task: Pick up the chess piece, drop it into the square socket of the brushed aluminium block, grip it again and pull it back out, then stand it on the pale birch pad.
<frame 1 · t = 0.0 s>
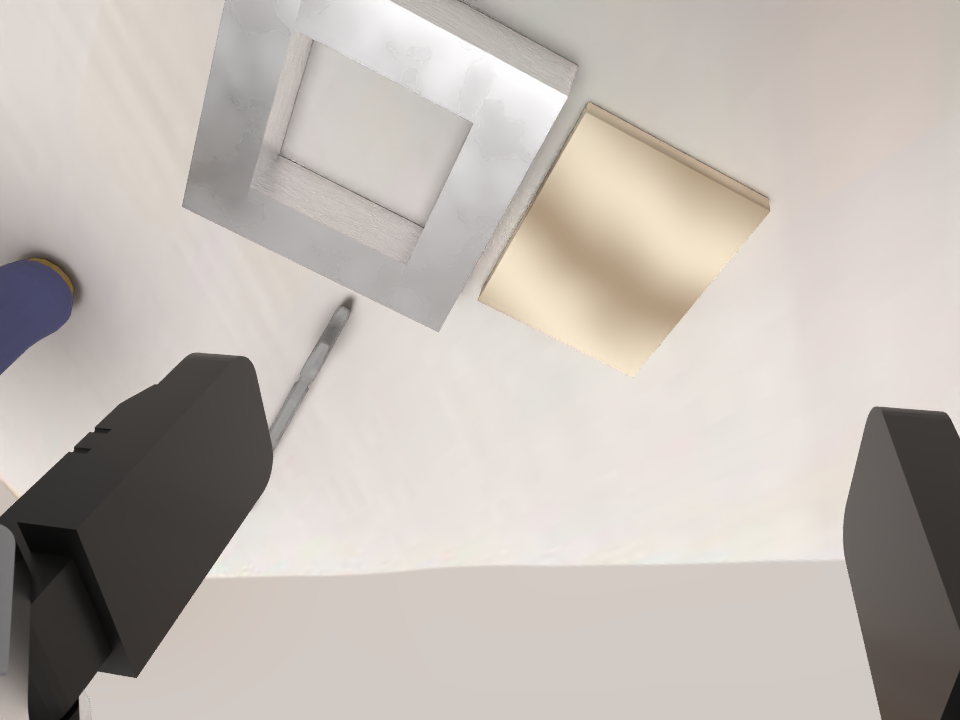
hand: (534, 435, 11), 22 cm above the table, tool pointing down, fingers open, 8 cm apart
birch pad: (613, 247, 34), on the table
combination wrench: (294, 409, 46), on the table
socket block: (378, 125, 33), on the table
rubber mallet: (53, 277, 43), on the table
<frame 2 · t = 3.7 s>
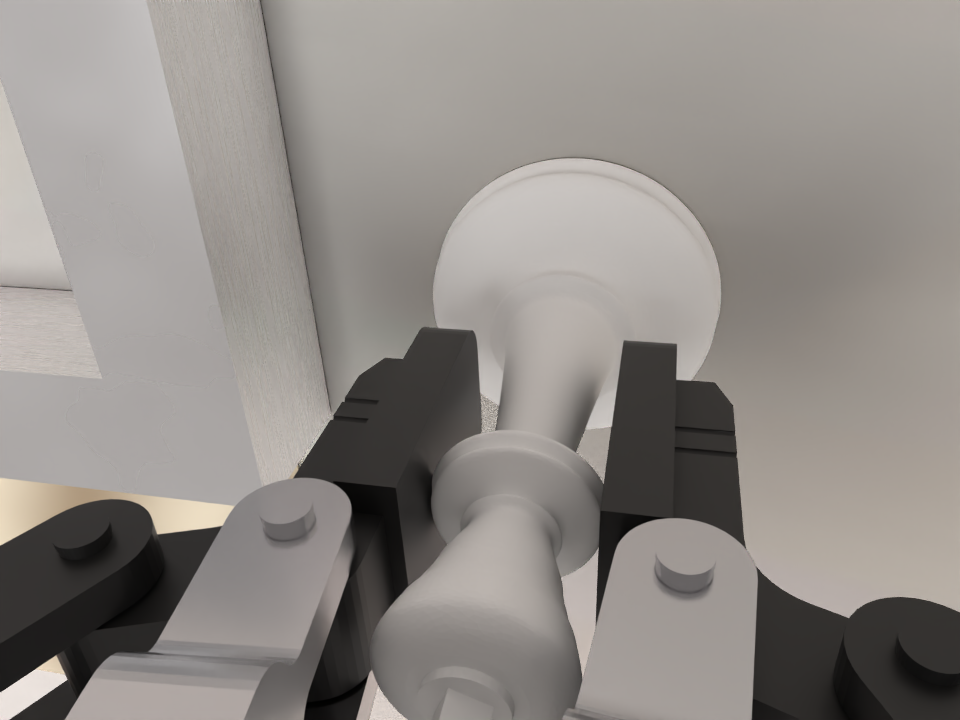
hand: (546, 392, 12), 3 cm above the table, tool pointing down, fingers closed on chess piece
chess piece: (575, 290, 14), on the table, touching gripper
birch pad: (138, 555, 20), on the table
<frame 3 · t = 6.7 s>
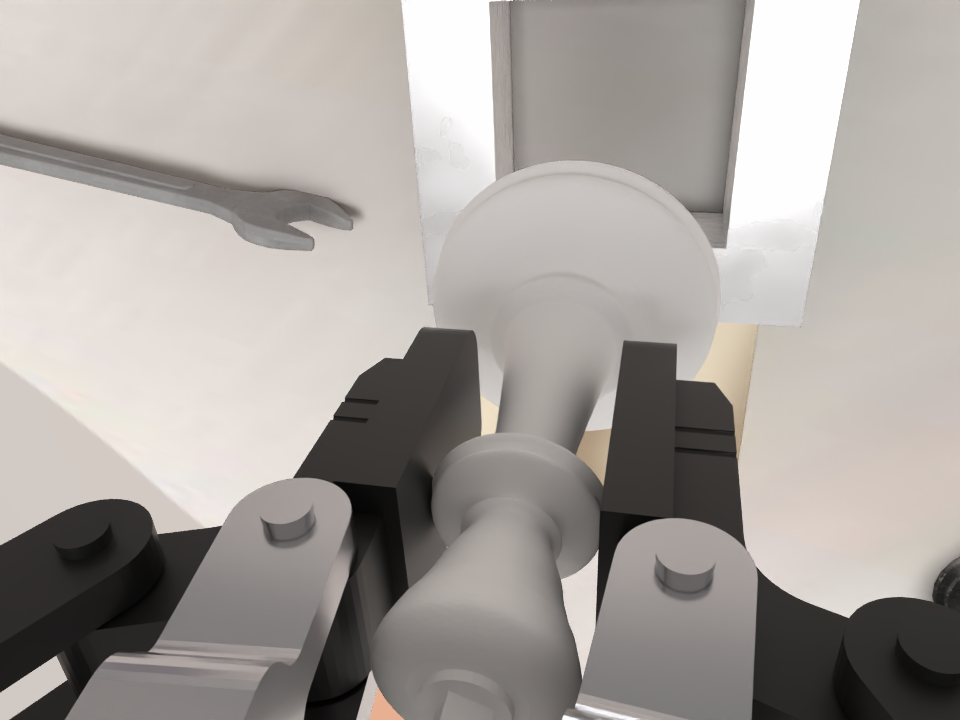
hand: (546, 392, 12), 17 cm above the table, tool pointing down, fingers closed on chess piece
chess piece: (575, 292, 14), point 14 cm above the table, touching gripper
birch pad: (608, 393, 31), on the table
combination wrench: (120, 161, 31), on the table
socket block: (620, 104, 26), on the table
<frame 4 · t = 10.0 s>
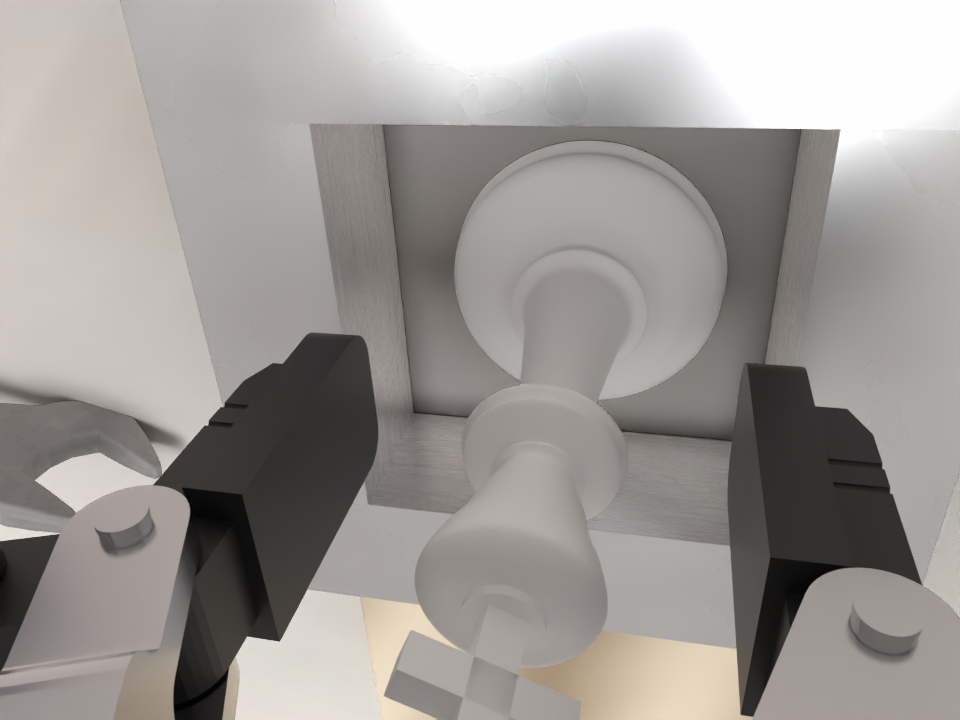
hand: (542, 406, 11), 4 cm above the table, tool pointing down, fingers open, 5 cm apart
chess piece: (588, 267, 15), resting in socket block
birch pad: (571, 667, 21), on the table
socket block: (578, 273, 15), on the table
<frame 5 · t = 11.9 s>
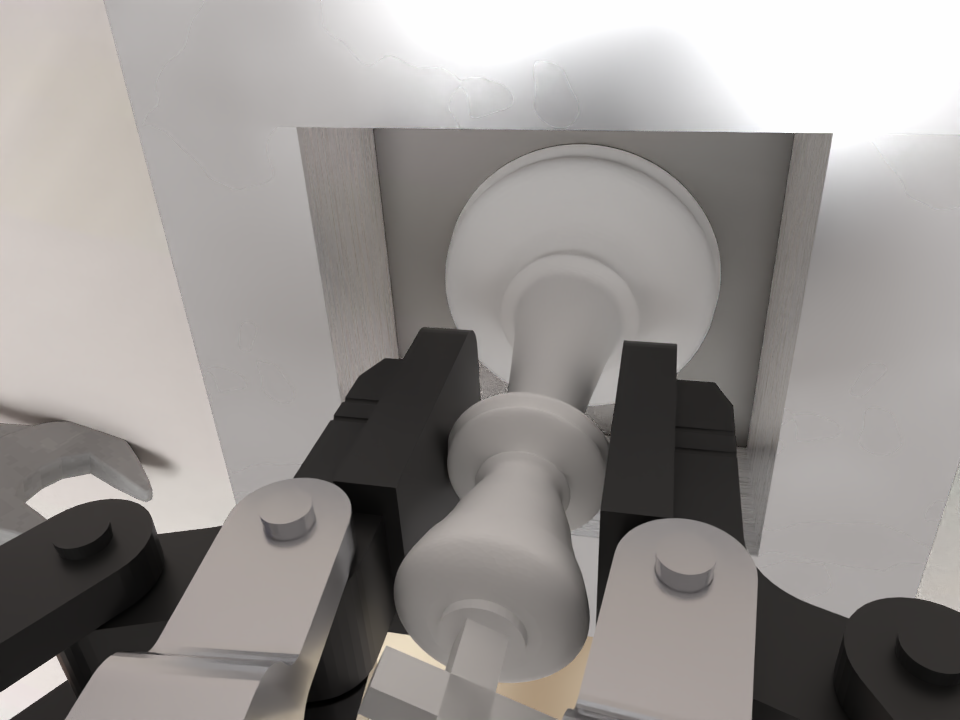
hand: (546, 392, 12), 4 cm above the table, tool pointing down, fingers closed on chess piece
chess piece: (581, 272, 15), resting in socket block, touching gripper
birch pad: (565, 672, 20), on the table
socket block: (570, 277, 15), on the table
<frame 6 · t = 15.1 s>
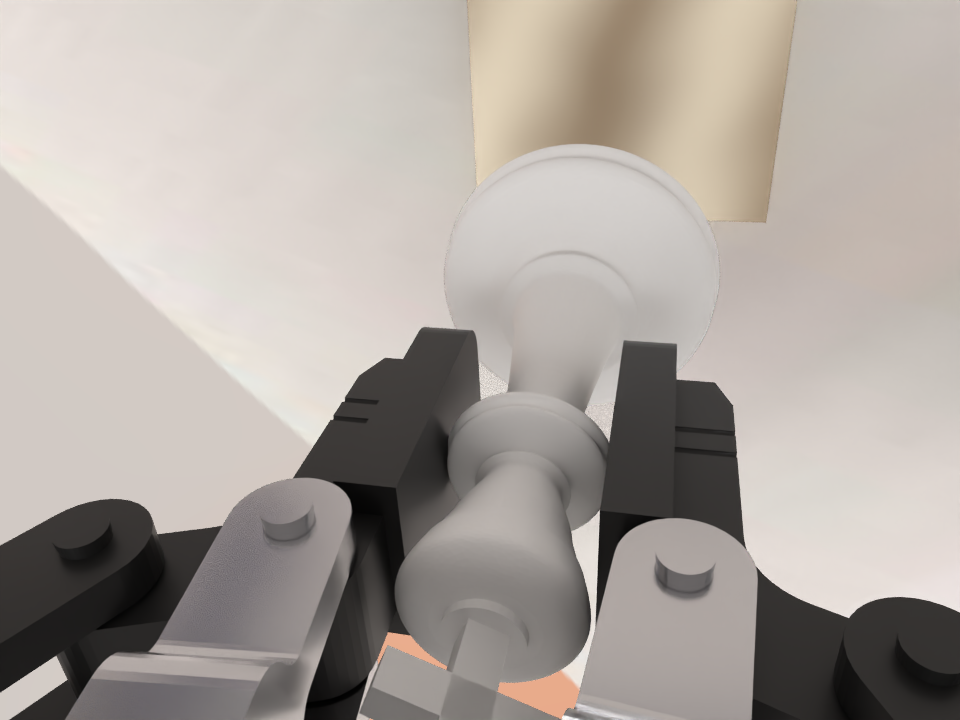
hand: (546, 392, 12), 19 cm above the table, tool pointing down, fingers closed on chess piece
chess piece: (580, 272, 15), point 15 cm above the table, touching gripper
birch pad: (623, 94, 27), on the table
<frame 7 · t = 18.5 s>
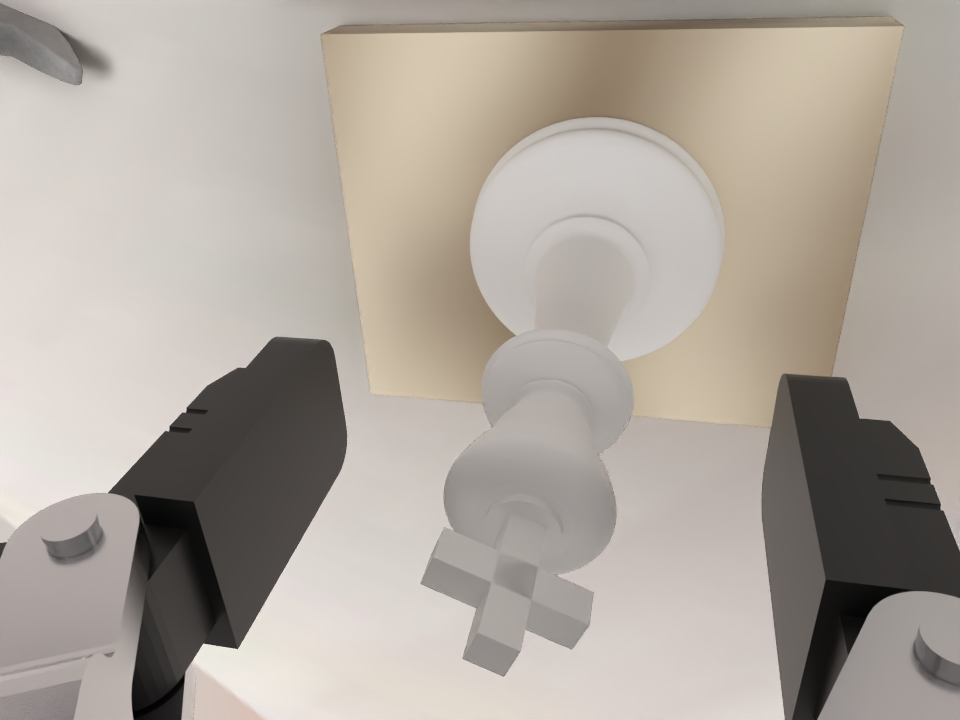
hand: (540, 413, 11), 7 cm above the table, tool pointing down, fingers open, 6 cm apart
chess piece: (595, 238, 16), point 1 cm above the table, touching birch pad
birch pad: (590, 227, 17), on the table
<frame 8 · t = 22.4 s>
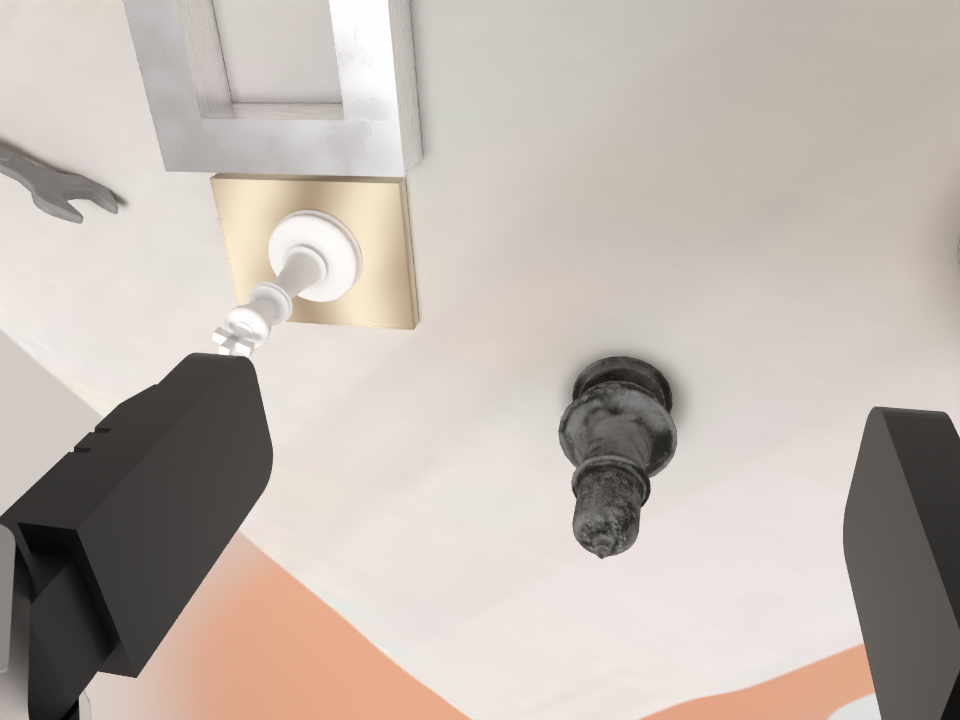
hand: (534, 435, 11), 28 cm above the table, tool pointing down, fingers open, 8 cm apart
chess piece: (318, 253, 42), point 1 cm above the table, touching birch pad
birch pad: (321, 248, 43), on the table
salt shaker: (622, 397, 43), on the table
socket block: (286, 25, 37), on the table
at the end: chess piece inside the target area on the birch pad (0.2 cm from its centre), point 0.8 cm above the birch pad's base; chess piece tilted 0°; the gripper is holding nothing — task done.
